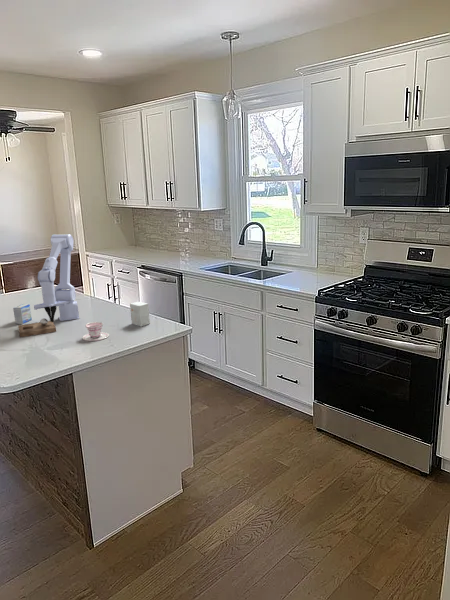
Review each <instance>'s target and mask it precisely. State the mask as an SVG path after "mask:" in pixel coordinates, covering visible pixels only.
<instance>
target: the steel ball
mask: <svg viewBox="0 0 450 600" xmlns="http://www.w3.org/2000/svg"><path fill="white" fill-rule="evenodd" d="M48 321H49V320H48V319H47V318H41V319H40V321H39V322H40V324H41V325H43V326H45V325H47V323H48Z"/></svg>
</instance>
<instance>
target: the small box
mask: <svg viewBox="0 0 450 600" xmlns="http://www.w3.org/2000/svg"><path fill="white" fill-rule="evenodd" d="M129 309H130V317H131V318H130V321H131V324H132V325H135V326H138V327H144V326H148V325H149V324H151V320H150V311H149V310H150V307H149V303H146V302H142V301H135V302H131V303H129Z"/></svg>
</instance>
